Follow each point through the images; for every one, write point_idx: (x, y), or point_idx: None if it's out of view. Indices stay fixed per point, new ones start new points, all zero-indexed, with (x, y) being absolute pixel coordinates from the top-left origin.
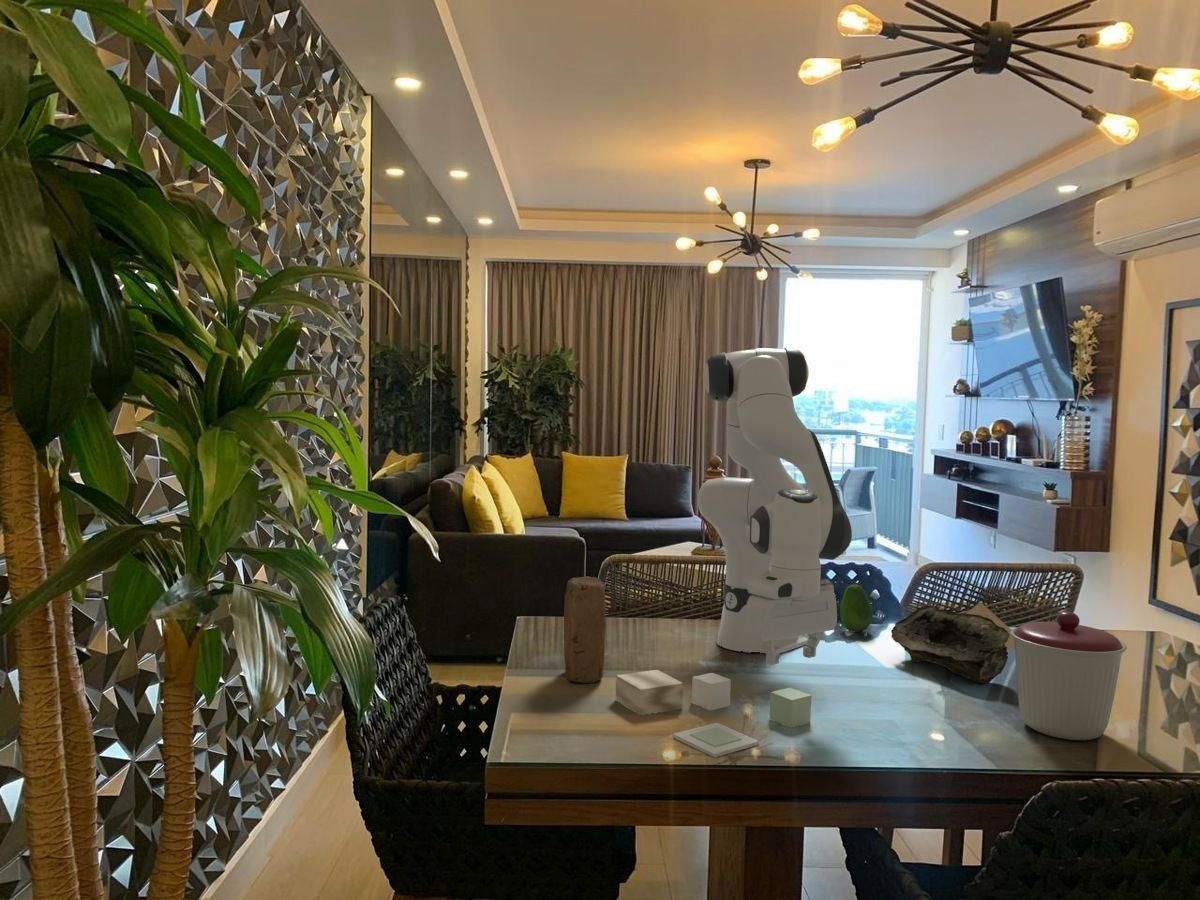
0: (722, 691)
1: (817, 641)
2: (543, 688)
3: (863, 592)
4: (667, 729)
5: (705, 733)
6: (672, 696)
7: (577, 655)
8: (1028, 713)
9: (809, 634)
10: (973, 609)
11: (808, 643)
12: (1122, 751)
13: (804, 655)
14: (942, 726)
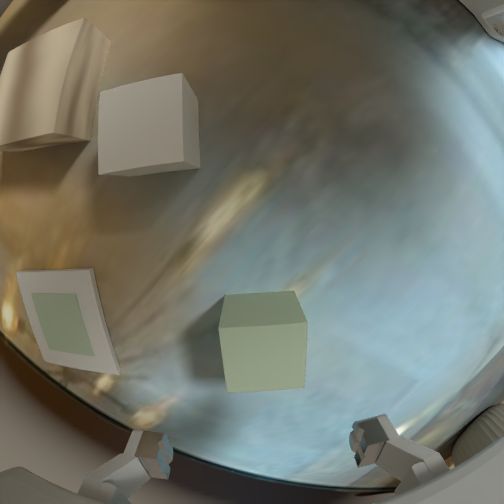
0: (157, 168)
1: (398, 476)
2: (19, 11)
3: None
4: (23, 234)
5: (49, 306)
6: (49, 140)
7: None
8: (467, 443)
9: (409, 479)
10: None
11: (394, 450)
12: (450, 461)
13: (354, 427)
14: (432, 410)
